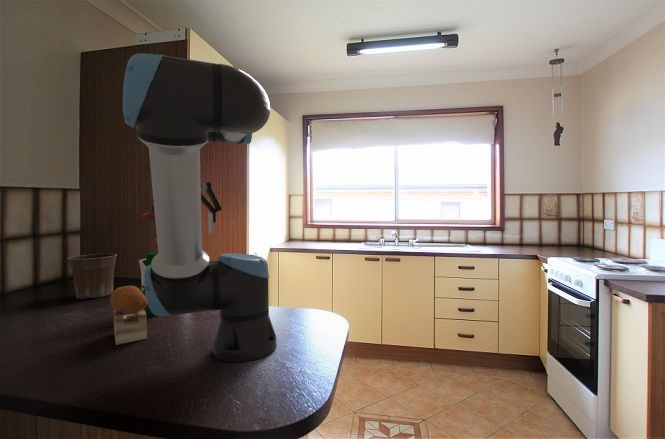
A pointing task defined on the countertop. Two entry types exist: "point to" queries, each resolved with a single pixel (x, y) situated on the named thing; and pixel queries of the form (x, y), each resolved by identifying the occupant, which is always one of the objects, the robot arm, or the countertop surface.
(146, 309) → the milk carton
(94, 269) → the plant pot
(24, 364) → the countertop surface
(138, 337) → the cradle
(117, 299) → the potato
